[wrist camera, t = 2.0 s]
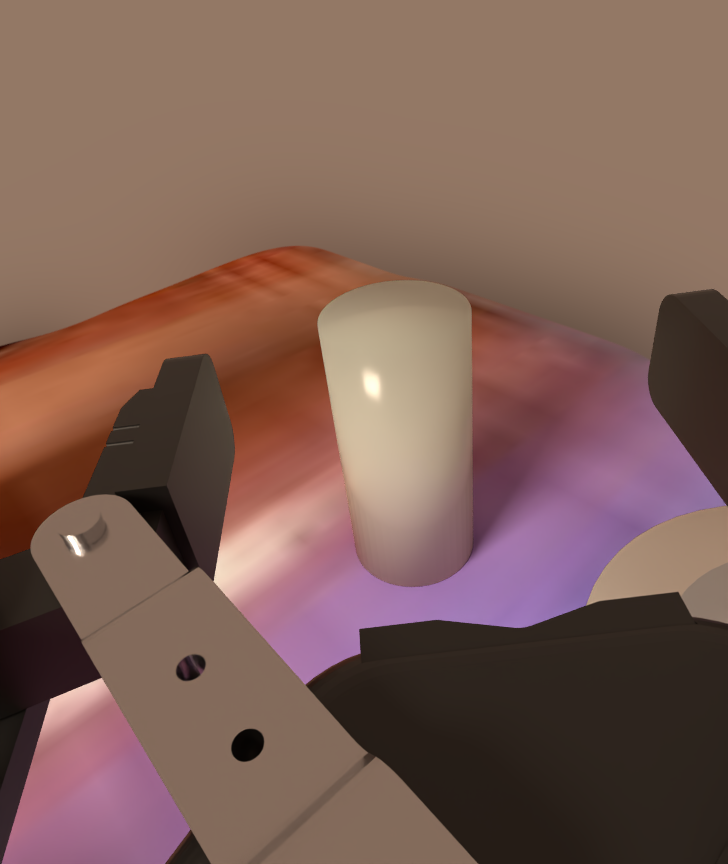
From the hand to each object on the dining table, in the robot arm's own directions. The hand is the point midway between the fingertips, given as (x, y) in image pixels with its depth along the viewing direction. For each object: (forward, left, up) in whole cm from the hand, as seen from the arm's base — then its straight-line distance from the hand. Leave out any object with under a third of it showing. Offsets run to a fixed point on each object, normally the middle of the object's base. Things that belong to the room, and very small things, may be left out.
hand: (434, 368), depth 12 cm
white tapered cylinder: (-8, +8, -17) cm, 20 cm away
